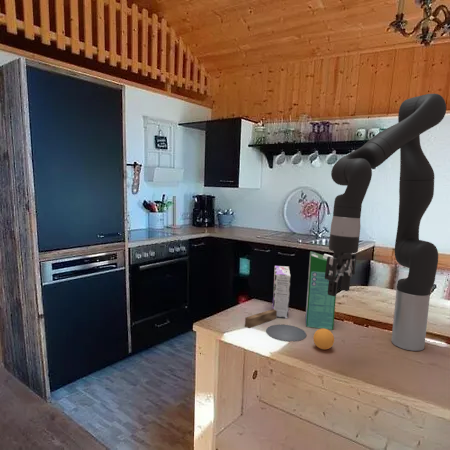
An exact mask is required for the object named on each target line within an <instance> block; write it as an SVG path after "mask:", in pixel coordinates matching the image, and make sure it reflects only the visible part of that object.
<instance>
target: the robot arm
mask: <svg viewBox="0 0 450 450" xmlns="http://www.w3.org/2000/svg"><path fill="white" fill-rule="evenodd" d="M446 112H447V103H446V100H445V98H444V97H443V96H442V95H441V94H438V93H427V94H422V95H419V96H418V95H417V96H415V97H409V98H407V99H405V100H403V101H402V102H401V104H400V106H399V109H398V116H397V118H398V119H397V121H398V122H397V123H395V124H393V125H391V126H389V127H387V128H384V129H383V130H381V131H380V132H378V133H377V134H375V135H374V136H373V137H371V138H370V139H369V140H367V142H366V143H364V144H363V145H362V146H361V147H359V148H357V149H355V150H353V151H351V152H350V153H347V154H346V155H344V156H342V157H341V158H339V159H338V160H337V161H336V162H335V163H334V164H333V166H332V169H331V173H330V174H331V179H332V181H333V182H334V183H335V184H336V185H338V186H342V187H343V186H345V187H346V188H345V190H344V192H343V193H342V194H341V193H340V194H338V195H337V196H336V197H335V198H334V202H333V211H332V218H331V219H332V220H331V223H330V231H329V232H330V233H329V239H328V240H329V242H328V249H329V251H331V252H333V254H332V256H333V257H329V256H328V257H327V263H326V271H325V279H327V280H328V281H329V284H328V295H331V296H336V297H337V293H338V285H339V280H340V277H341V281H340V283H341V284H340V289H341V291H344V292H349V291H350V288H351V287H350V286H351V279H352V278H353V276H354V275H355V274H356V263H357V254H358V252H359V245H360V244H359V243H360V234H361V215H362V207H363V206H362V204H363V202H364V199H365V197H366V194H367V192H368V189H369V187H370V183H371V182H372V176H373V169H376V168H378V167H379V166H381V165H382V164H383V163H384V162H386V160H388V159H389V158H390V157H391V156H393V154H395V153H396V152H397V151H398V150H400V151H399V152H400V153H399V156H400V157H399V158H400V159H399V161H400V162H399V163H400V166H399V170H400V171H399V188H398V194H399V196H398V198H399V199H398V200H399V202H398V218H397V219H398V220H397V228H396V235H395V243H394V257H395V260H396V263H397V264H399V265H400V266H403V267H405V268H407V269H408V274H407V277H404V278H400V279H398V280H397V283H396V288H395V289H396V290H395V291H396V292H395V302H394V311H393V322H392V329H391V330H392V332H391V343H392V345H394V346H395V347H398V348H400V349H403V350H408V351H414V352H419V351H420V352H421V351H423V350H425V343H426V335H427V325H428V320H429V319H428V318H429V317H428V315H429V307H430V300H431V299H430V297H431V291H432V288H433V287H434V284H435V282H436V277H437V270H438V265H439V264H438V263H439V250H438V249H437V246H436V245H435V244H434V243H432V242H431V241H426V240H423V239H422V240H421V239H420V226H421V225H420V224H421V220H422V218H423V216H424V215H425V213H426V211H427V210H428V208H429V207H430V204H431V203H432V202H433V201H432V200H433V199H434V195H435V172H434V168H433V166H432V165H431V163H430V162H429V159H428V158H427V156H426V154H425V153H424V151H423V149H422V146H421V136H420V135H422V134H423V133H425V132H427V131H429V130H430V129H432V128H434V127H435V126H437V125H438V124H440V123H441V122H442V121H443V120H444V118H445V115H446ZM329 272H330V273H329Z"/></svg>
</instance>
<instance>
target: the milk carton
mask: <svg viewBox="0 0 450 450" xmlns="http://www.w3.org/2000/svg"><path fill="white" fill-rule="evenodd" d="M328 256H329V257H333V255H330V254H327V253H324V254H320V253H318V252H315V251H310V252H309V261H308V262H309V264H308V276H307V278H308V279H307V292H306V306H305V325H306V326H305V327H307V328H313V329H314V328H315V329H322V328H324V329H328V330H330V331H332V330H334V327H335V326H334V324H335V323H334V322H335V312H336V300H337V299H336V298H337V295H336V296H331V295H328V284H329V281H328V280H327V279H325V271H326V263H327V257H328ZM329 273H330V272H329Z"/></svg>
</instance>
